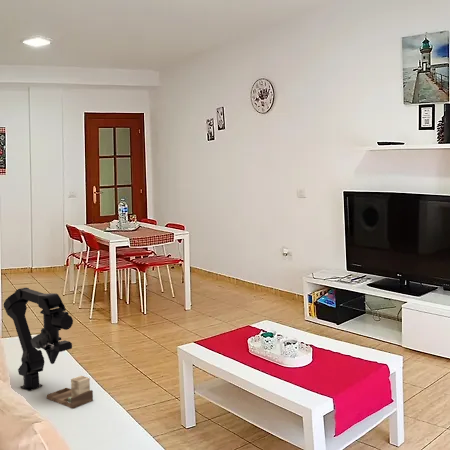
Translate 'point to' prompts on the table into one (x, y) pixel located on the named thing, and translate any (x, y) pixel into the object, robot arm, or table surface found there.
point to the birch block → (80, 385)
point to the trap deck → (70, 398)
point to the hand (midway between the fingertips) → (52, 363)
